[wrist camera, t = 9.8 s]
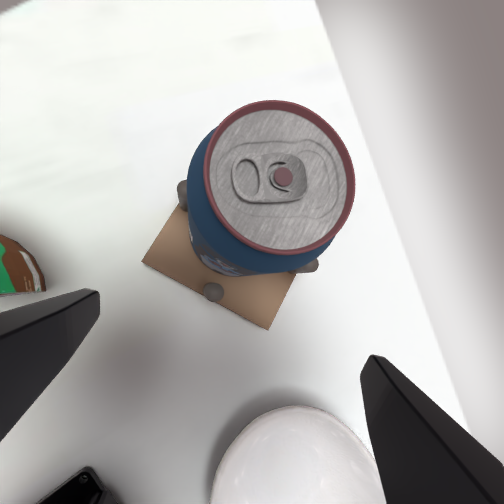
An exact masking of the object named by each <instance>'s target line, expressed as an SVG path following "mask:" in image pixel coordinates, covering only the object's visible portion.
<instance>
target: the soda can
mask: <svg viewBox="0 0 504 504" xmlns="http://www.w3.org/2000/svg"><path fill="white" fill-rule="evenodd" d="M354 196H355V174H354V168H353V164H352V161H351V158H350V155H349V153H348V150H347V148H346V146H345V145H344V143H343V141H342V140H341V138H340V137H339V135H338V134H337V133H336V131H335V130H334V129H333V128H332V127H331V126H330V125H329V124H328V123H327V122H326V121H325V120H324V119H323V118H321V117H320V116H319V115H317V114H316V113H314V112H313V111H311V110H310V109H308V108H306V107H304V106H301V105H299V104H296V103H292V102H287V101H279V100H266V101H259V102H254V103H251V104H248V105H245V106H243V107H241V108H239V109H237V110H236V111H234V112H232V113H231V114H230V115H229V116H227V117H226V118H225V119H224V120H223V121H222V122H221V123H220V124H219V126H217V127H216V128H215V129H213V130H212V131H211V132H210V133H209V134H208V135H207V136H206V137H205V138H204V139H203V140H202V142H201V143H200V144H199V146H198V148H197V149H196V151H195V153H194V155H193V157H192V160H191V163H190V166H189V170H188V175H187V206H188V224H189V237H190V241H191V245H192V247H193V250H194V252H195V253H196V255H197V256H198V258H199V259H200V260H201V261H202V262H203V263H204V264H205V265H206V266H207V267H208V268H210V269H211V270H213V271H215V272H217V273H219V274H222V275H226V276H232V277H241V276H251V275H261V274H271V273H281V272H287V271H291V270H295V269H298V268H300V267H302V266H304V265H306V264H308V263H310V262H311V261H313V260H314V259H316V258H317V257H318V256H319V255H321V254H322V253H323V252H324V251H325V250H326V248H327V247H328V246H329V245H330V243H331V242H332V240H333V239H334V237H335V235H336V234H337V233H338V232H339V230H340V229H341V228H342V226H343V225H344V224H345V222H346V220H347V218H348V216H349V214H350V211H351V209H352V205H353V202H354Z"/></svg>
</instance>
